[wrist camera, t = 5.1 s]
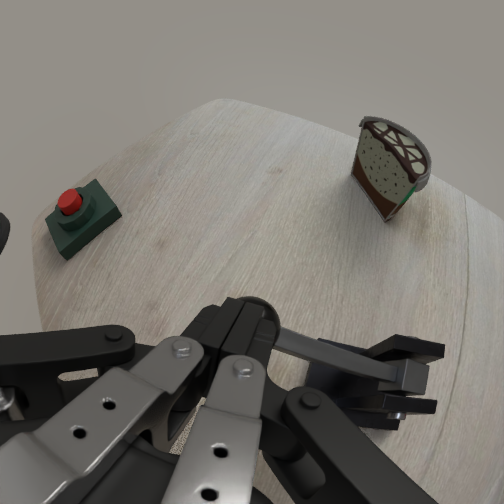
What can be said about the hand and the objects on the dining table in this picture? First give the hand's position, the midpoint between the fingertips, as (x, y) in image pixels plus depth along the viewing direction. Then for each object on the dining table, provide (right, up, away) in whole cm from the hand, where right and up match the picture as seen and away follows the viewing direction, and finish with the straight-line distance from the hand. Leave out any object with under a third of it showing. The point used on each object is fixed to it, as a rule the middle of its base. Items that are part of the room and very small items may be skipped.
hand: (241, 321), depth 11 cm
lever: (+5, -4, +5) cm, 8 cm away
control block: (-24, +7, +24) cm, 34 cm away
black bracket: (+11, -11, +13) cm, 20 cm away
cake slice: (+20, +11, +26) cm, 35 cm away
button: (-24, +9, +20) cm, 32 cm away
